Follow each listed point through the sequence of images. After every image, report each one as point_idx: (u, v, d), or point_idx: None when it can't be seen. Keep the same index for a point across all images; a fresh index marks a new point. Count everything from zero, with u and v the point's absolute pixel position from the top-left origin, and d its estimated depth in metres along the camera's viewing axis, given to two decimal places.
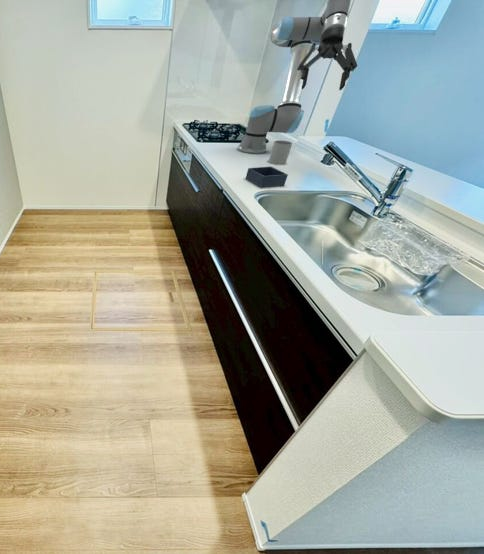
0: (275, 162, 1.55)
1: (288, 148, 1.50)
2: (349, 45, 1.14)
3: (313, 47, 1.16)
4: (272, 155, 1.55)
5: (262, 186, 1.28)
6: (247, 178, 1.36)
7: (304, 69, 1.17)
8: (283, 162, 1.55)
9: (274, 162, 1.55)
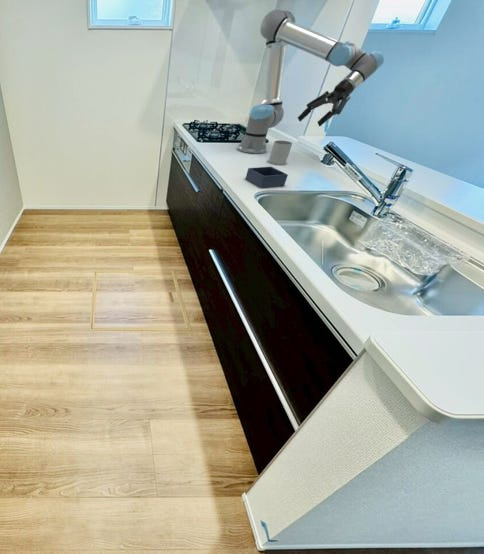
0: (275, 162, 1.55)
1: (288, 148, 1.50)
2: None
3: None
4: (272, 155, 1.55)
5: (262, 186, 1.28)
6: (247, 178, 1.36)
7: None
8: (283, 162, 1.55)
9: (274, 162, 1.55)
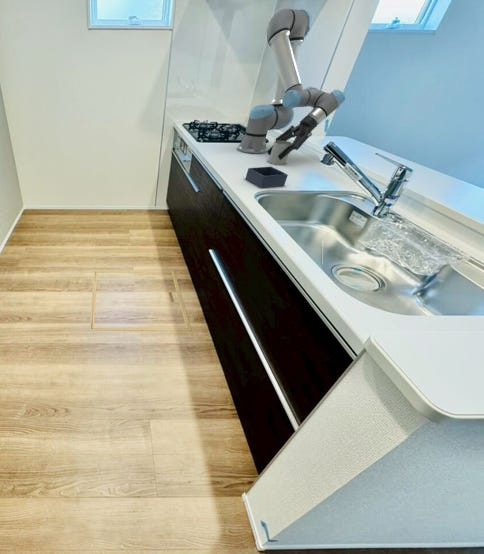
0: (275, 162, 1.55)
1: None
2: None
3: None
4: (272, 155, 1.55)
5: (262, 186, 1.28)
6: (247, 178, 1.36)
7: None
8: (283, 162, 1.55)
9: (274, 162, 1.55)
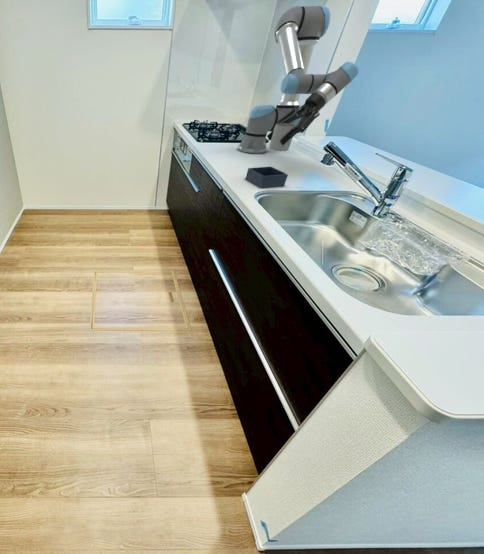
0: (277, 148, 1.34)
1: None
2: None
3: None
4: (273, 140, 1.34)
5: (262, 186, 1.28)
6: (247, 178, 1.36)
7: None
8: (286, 148, 1.34)
9: (275, 148, 1.35)
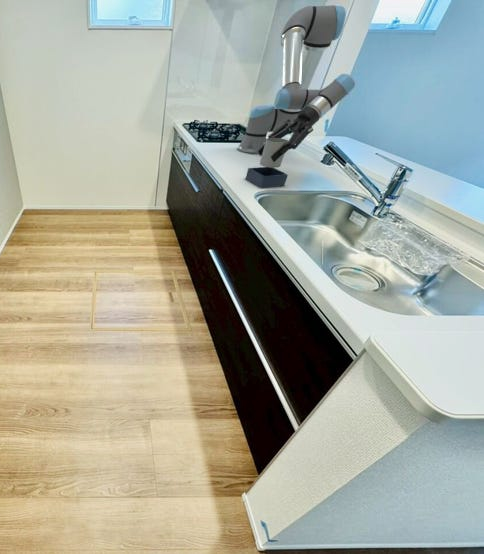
0: (268, 164, 1.26)
1: None
2: None
3: None
4: (264, 156, 1.26)
5: (262, 186, 1.28)
6: (247, 178, 1.36)
7: None
8: (277, 164, 1.25)
9: (266, 164, 1.26)
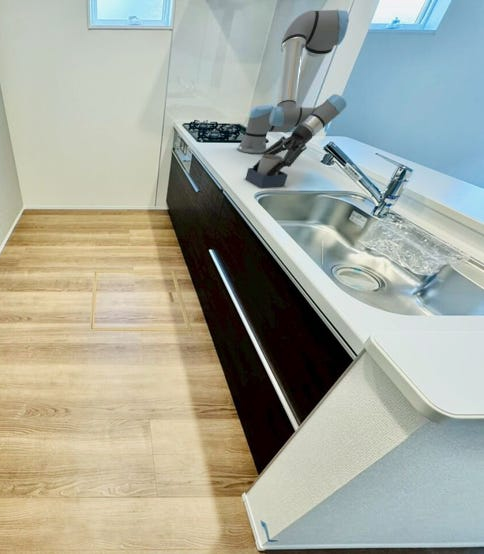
0: None
1: None
2: None
3: None
4: (259, 172, 1.30)
5: (262, 186, 1.28)
6: (247, 178, 1.36)
7: None
8: None
9: None
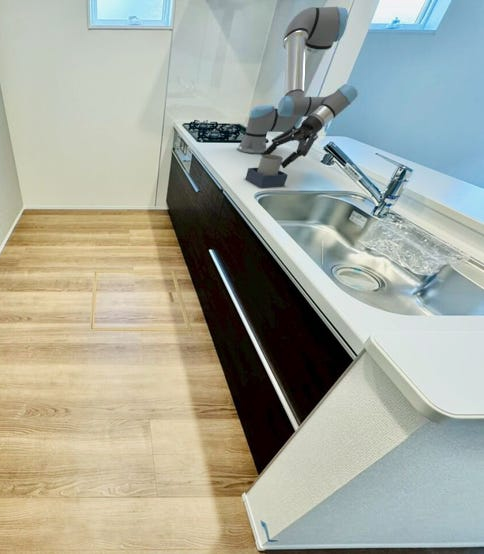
0: None
1: (278, 164, 1.25)
2: None
3: None
4: (259, 172, 1.30)
5: (262, 186, 1.28)
6: (247, 178, 1.36)
7: None
8: None
9: None
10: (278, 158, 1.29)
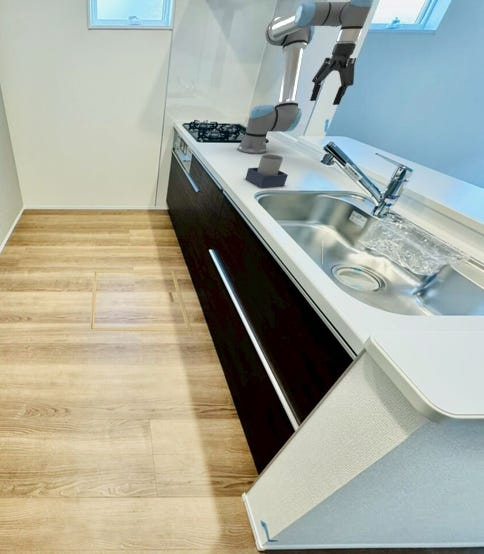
0: None
1: (278, 164, 1.25)
2: None
3: None
4: (259, 172, 1.30)
5: (262, 186, 1.28)
6: (247, 178, 1.36)
7: None
8: None
9: None
10: (278, 158, 1.29)
